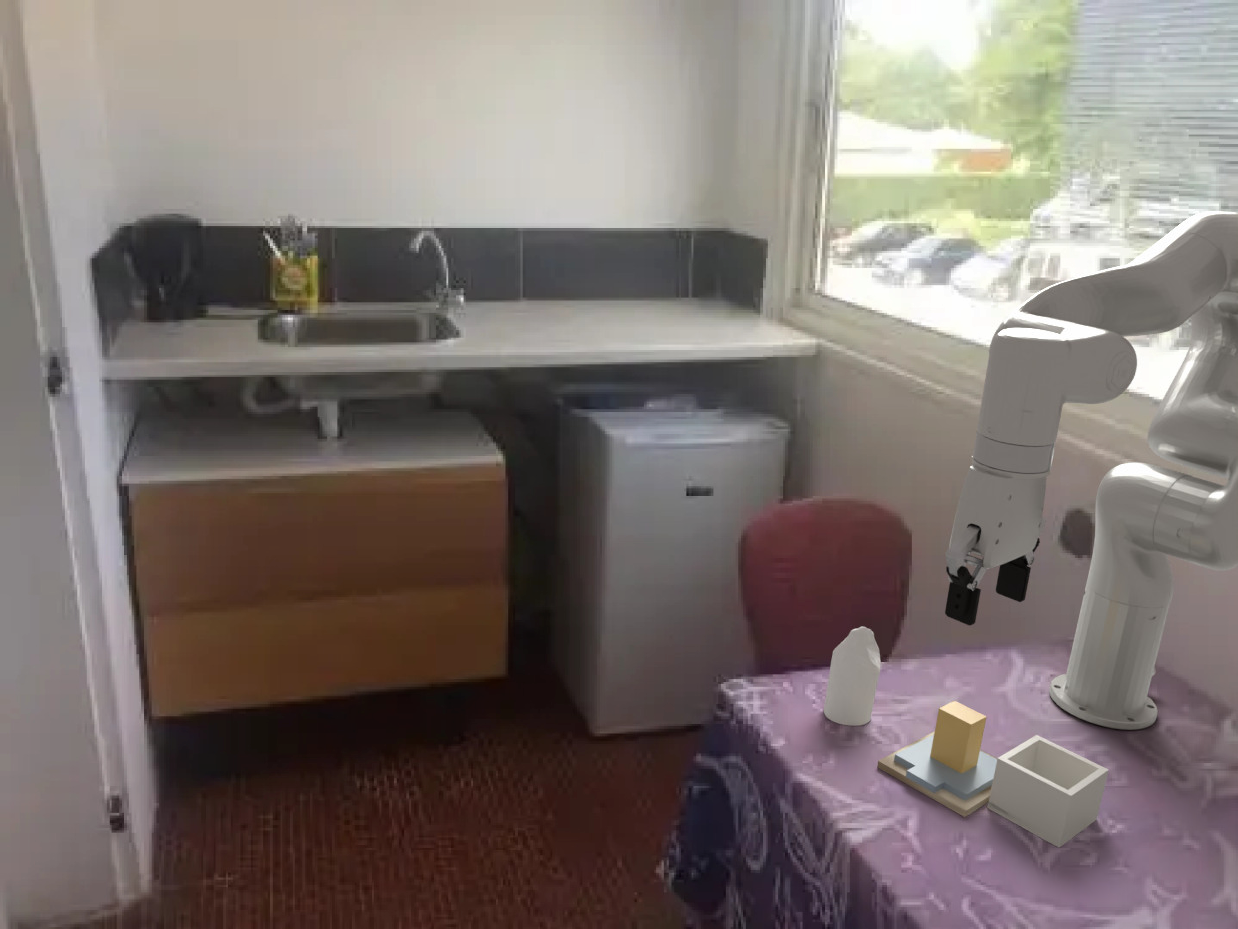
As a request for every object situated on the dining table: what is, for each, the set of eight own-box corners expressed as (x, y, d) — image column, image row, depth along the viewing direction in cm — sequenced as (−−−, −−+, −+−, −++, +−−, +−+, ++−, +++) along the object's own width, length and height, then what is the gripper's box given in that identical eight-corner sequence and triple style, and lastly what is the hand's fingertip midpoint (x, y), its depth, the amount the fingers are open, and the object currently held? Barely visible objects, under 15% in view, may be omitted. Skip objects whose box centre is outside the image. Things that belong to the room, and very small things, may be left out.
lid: (940, 736, 125) (950, 684, 123) (1010, 773, 118) (1022, 719, 116) (885, 765, 118) (894, 710, 116) (956, 806, 112) (967, 748, 110)
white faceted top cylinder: (866, 611, 130) (898, 630, 125) (852, 699, 133) (882, 722, 129) (826, 617, 127) (857, 638, 122) (813, 708, 131) (842, 731, 126)
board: (938, 734, 127) (939, 728, 127) (1024, 779, 119) (1025, 773, 119) (877, 767, 119) (878, 760, 119) (964, 817, 111) (966, 810, 111)
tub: (1026, 783, 118) (1036, 735, 117) (1096, 819, 113) (1108, 769, 111) (987, 808, 113) (997, 758, 111) (1059, 847, 108) (1071, 796, 106)
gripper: (1022, 431, 116) (996, 577, 122) (931, 457, 105) (907, 616, 111) (1089, 449, 111) (1059, 601, 116) (1000, 478, 100) (971, 644, 105)
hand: (985, 608), depth 114 cm, fingers open, 9 cm apart
